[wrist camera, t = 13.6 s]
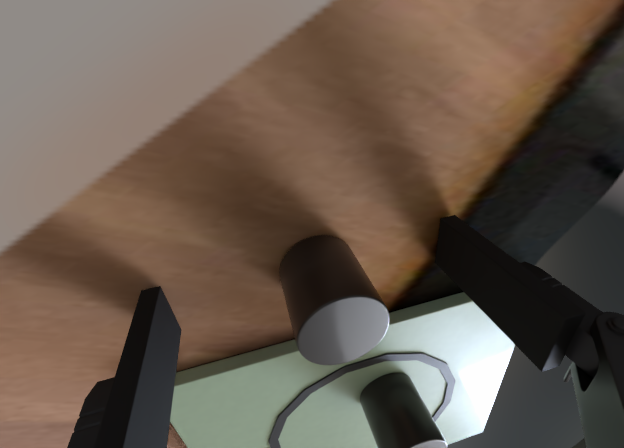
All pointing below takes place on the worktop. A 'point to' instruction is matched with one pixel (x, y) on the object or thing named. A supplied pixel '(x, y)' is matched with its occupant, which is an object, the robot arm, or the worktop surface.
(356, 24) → the worktop surface
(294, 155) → the worktop surface
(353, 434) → the board
